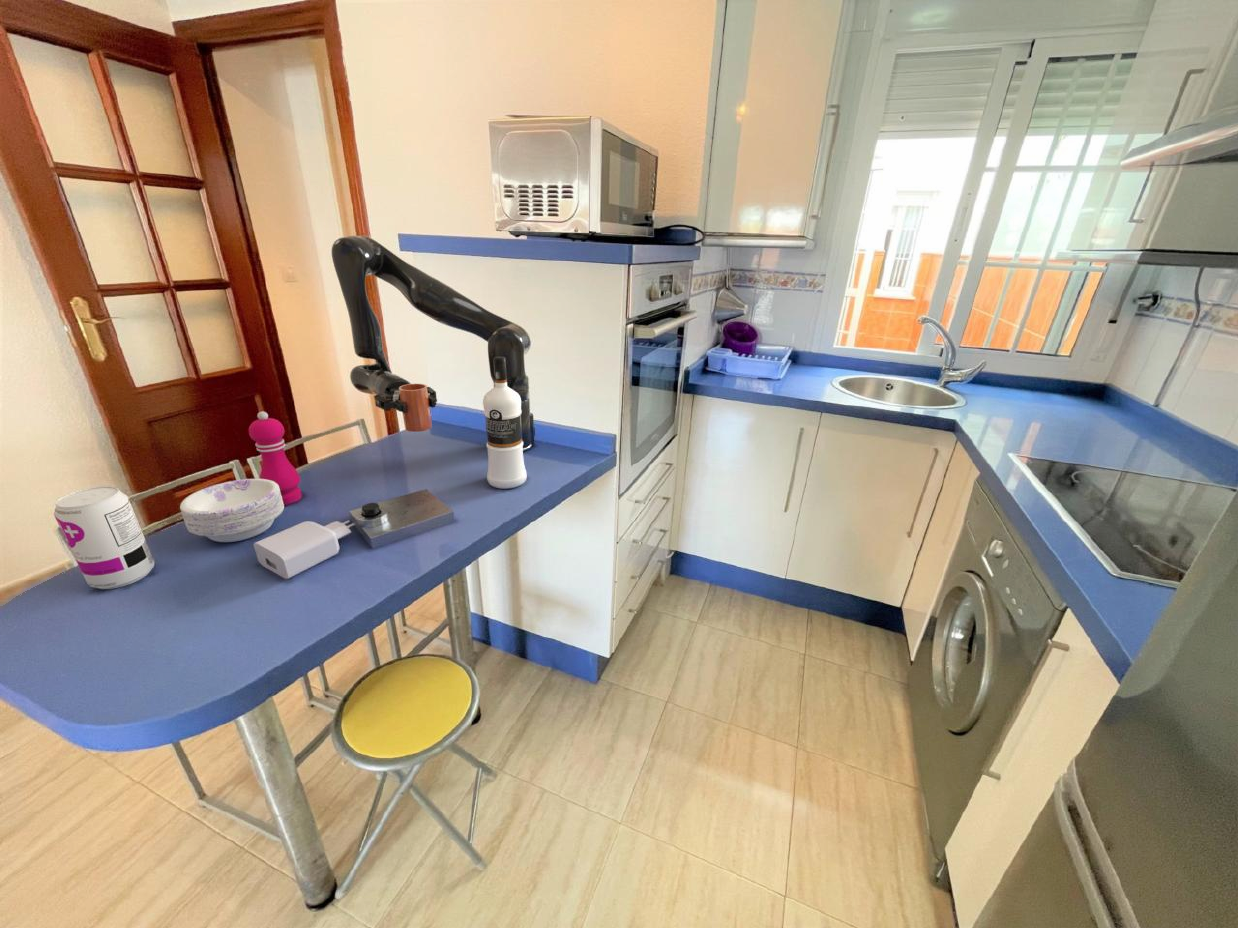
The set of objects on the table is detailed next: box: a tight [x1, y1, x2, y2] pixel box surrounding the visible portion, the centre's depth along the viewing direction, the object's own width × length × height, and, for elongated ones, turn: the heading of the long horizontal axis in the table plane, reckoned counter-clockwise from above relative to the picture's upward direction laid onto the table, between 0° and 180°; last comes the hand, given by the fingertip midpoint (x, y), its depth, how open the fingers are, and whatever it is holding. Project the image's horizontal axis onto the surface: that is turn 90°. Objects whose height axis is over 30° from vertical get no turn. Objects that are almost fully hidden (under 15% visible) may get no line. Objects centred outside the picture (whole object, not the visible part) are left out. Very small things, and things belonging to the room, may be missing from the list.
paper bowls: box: [179, 478, 285, 543], centre depth 96 cm, size 15×15×8 cm
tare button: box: [361, 502, 380, 518], centre depth 97 cm, size 3×3×2 cm
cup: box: [399, 383, 433, 433], centre depth 119 cm, size 6×6×10 cm
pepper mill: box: [248, 411, 303, 506], centre depth 105 cm, size 7×7×20 cm
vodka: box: [482, 357, 528, 490], centre depth 114 cm, size 9×9×30 cm
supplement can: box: [53, 485, 155, 590], centre depth 80 cm, size 8×8×15 cm
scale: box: [348, 488, 455, 550], centre depth 101 cm, size 16×13×4 cm
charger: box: [252, 519, 355, 580], centre depth 91 cm, size 5×9×15 cm
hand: (419, 405), depth 117 cm, fingers closed on cup, 6 cm apart
